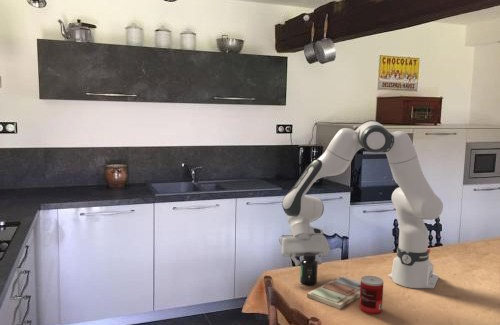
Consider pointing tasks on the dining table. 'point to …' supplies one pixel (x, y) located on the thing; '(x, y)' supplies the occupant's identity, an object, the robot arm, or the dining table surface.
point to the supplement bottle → (309, 270)
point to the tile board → (337, 292)
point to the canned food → (371, 294)
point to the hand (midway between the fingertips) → (309, 264)
